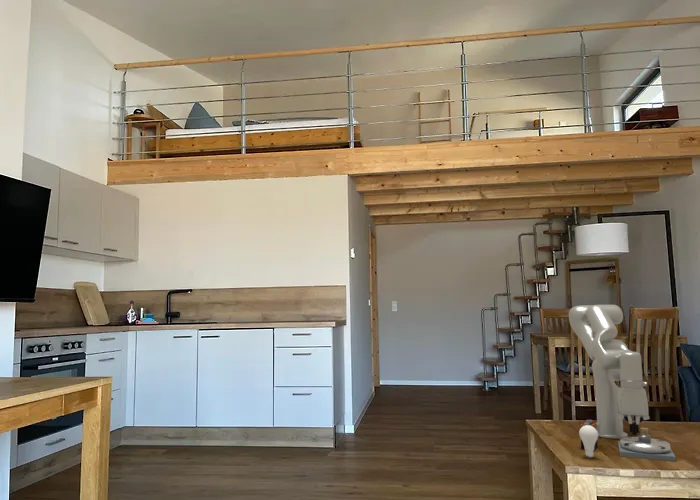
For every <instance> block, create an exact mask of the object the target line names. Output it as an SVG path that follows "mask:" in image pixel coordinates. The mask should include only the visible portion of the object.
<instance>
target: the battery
mask: <svg viewBox="0 0 700 500" xmlns="http://www.w3.org/2000/svg"><path fill="white" fill-rule="evenodd" d="M585 425H590V426H592V427H594V428H595V429H596V430H597V424H596V422H594V421H593V420H592V419H586V421H584V422H582V423H581V424H580V425H579V427H580V428H579V430H580V429H581V428H582V427H583V426H585ZM598 443H599V442H598V440H597V441H596V443H595V445H594V450H596V449H597V448H598V447H599V445H598ZM580 447H581V450H584V451H585V449H584V444H583V441H582V440H581V439H580Z"/></svg>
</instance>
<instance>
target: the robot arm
mask: <svg viewBox="0 0 700 500" xmlns="http://www.w3.org/2000/svg"><path fill="white" fill-rule="evenodd" d="M623 320H624V313H623V311H622V308H621V307H620V306H618V305H616V304H593V305H592V304H588V305H587V304H585V305H583V304H582V305H575V306H573V307H571V308H570V309H569V311H568V321H569V324H570V327H571V329H572V330H573V332H574V334H575V335H576V336H577V337H578V338H579V340H580V341H581V343H582V346H583V347H584V349H585V351H586V353H587V356H588V357H589V358H590V359H591V361H592V363H591V369H592V375H593V379H594V387H595V402H596V404H595V405H596V422H595V423H596V424H597V432H598V438H599V437H601V438H604V439H614V440H615V439H616V440H617V439H618V440H620V439H621V438H624V437H629V436H628V433H626V431H624V424H623V423H624V422H623V421H624V420H625V421H626V422H627V423H628V425H629V426H628V427H629V428H628V429H629V433H631V435H632V436H638V434H640V429H639V425H640V423H642V422H643V421H647V420H650V416H649V403H648V398H647V391H646V389H645V388H644V387H647V386H648V383H647V381H644V380H643V367H642V365H643V364H642V354H641V353H639V351H638V352H637V351H632V350H630V349H629V348H628V346H627V345H626V344H625V342H623V341H622V340H620V339H615V338H616V337H617V335H618V333H619V332H618V329H617V326H616V325H619V324H621V323H622V322H623ZM619 381H620V386H618V385H617V384H616V383H615V382H619ZM632 416H633V417H634V418H635V419H634V422H633V419H632Z"/></svg>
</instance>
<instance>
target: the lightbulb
mask: <svg viewBox="0 0 700 500" xmlns="http://www.w3.org/2000/svg"><path fill="white" fill-rule="evenodd" d="M578 434H579V438H580V441H581V440H582V441H583V444H584V449H585V450H584V452H585V456H586V457H587V458H589V459H591V458H593V457H594V455H595V454H594V453H595V452H594V451H595V449H594V445H595V443H596V441H597V442H598V438H599V436H598V432H597V430H596V429H595V428H594V427H592V426H590V425H585V426H583V427H582V428H581V429H580V428H579V432H578Z"/></svg>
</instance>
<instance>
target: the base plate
mask: <svg viewBox="0 0 700 500" xmlns="http://www.w3.org/2000/svg"><path fill="white" fill-rule="evenodd" d="M617 446H618V451H619V455H620V457H626V458H636V459H637V458H638V459H646V460H657V461H658V460H659V461H670V462H677V459H676V458H677V457H676V455H675V453H674V451H673V450H672V449H671V451H670V452H668V453H643V452H636V451H631V450H628V449H625V448H623V447H621V446H620V440H618V441H617Z"/></svg>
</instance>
